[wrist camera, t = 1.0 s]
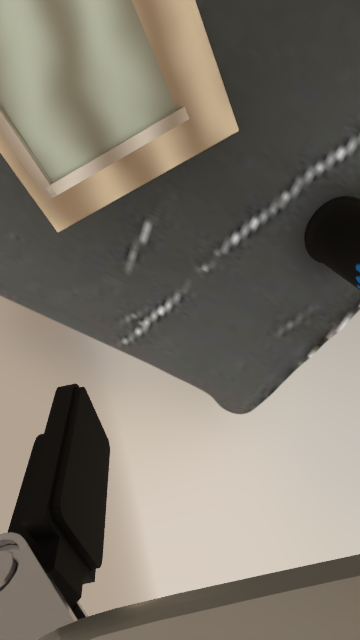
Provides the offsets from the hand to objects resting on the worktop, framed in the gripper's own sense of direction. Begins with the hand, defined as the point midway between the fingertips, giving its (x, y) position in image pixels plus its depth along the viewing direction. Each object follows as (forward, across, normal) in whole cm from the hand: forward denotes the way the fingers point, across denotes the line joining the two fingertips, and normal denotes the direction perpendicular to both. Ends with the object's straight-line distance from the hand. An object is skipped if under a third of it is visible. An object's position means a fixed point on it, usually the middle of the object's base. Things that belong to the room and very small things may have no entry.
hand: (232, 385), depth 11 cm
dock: (+30, +5, -11) cm, 32 cm away
